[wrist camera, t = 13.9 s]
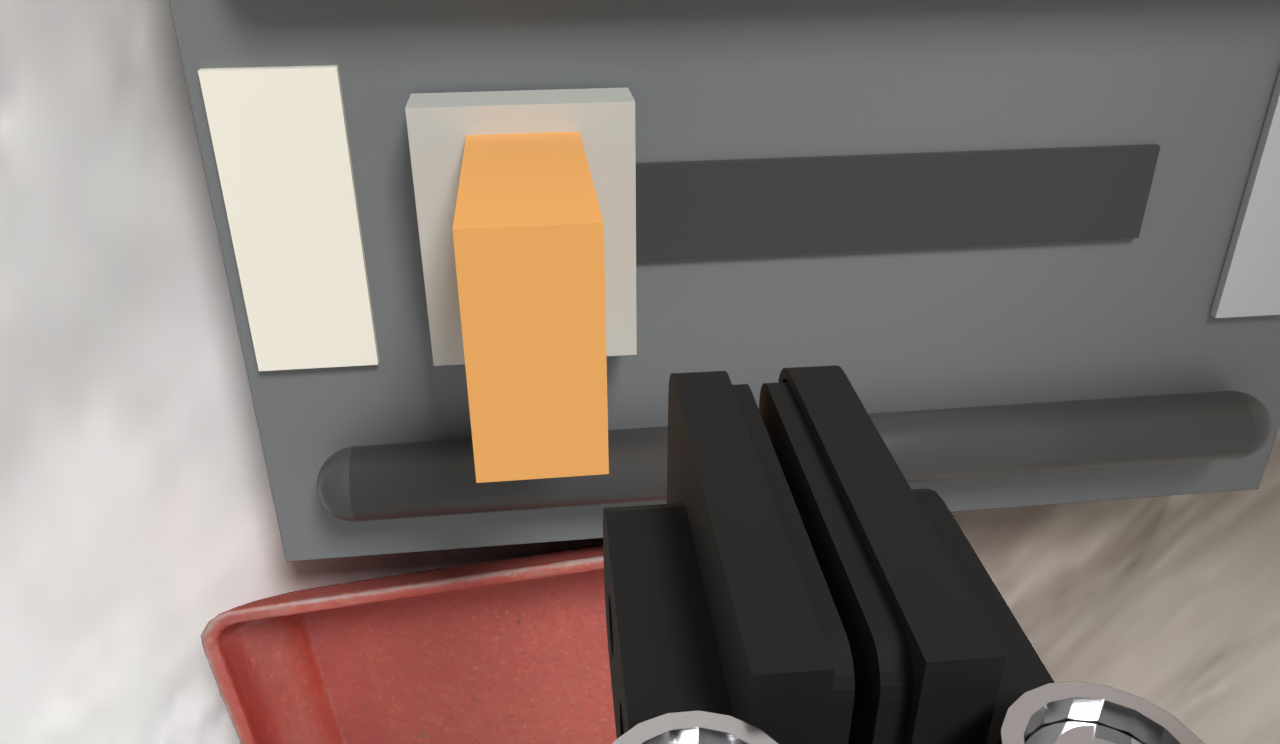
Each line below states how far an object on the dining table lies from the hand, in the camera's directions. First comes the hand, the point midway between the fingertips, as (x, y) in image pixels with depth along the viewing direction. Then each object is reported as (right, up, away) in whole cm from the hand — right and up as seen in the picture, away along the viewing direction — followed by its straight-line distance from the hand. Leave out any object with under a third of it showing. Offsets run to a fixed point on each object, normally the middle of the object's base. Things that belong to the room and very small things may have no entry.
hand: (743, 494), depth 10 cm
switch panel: (+2, +6, +12) cm, 14 cm away
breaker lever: (-3, +4, +9) cm, 11 cm away
